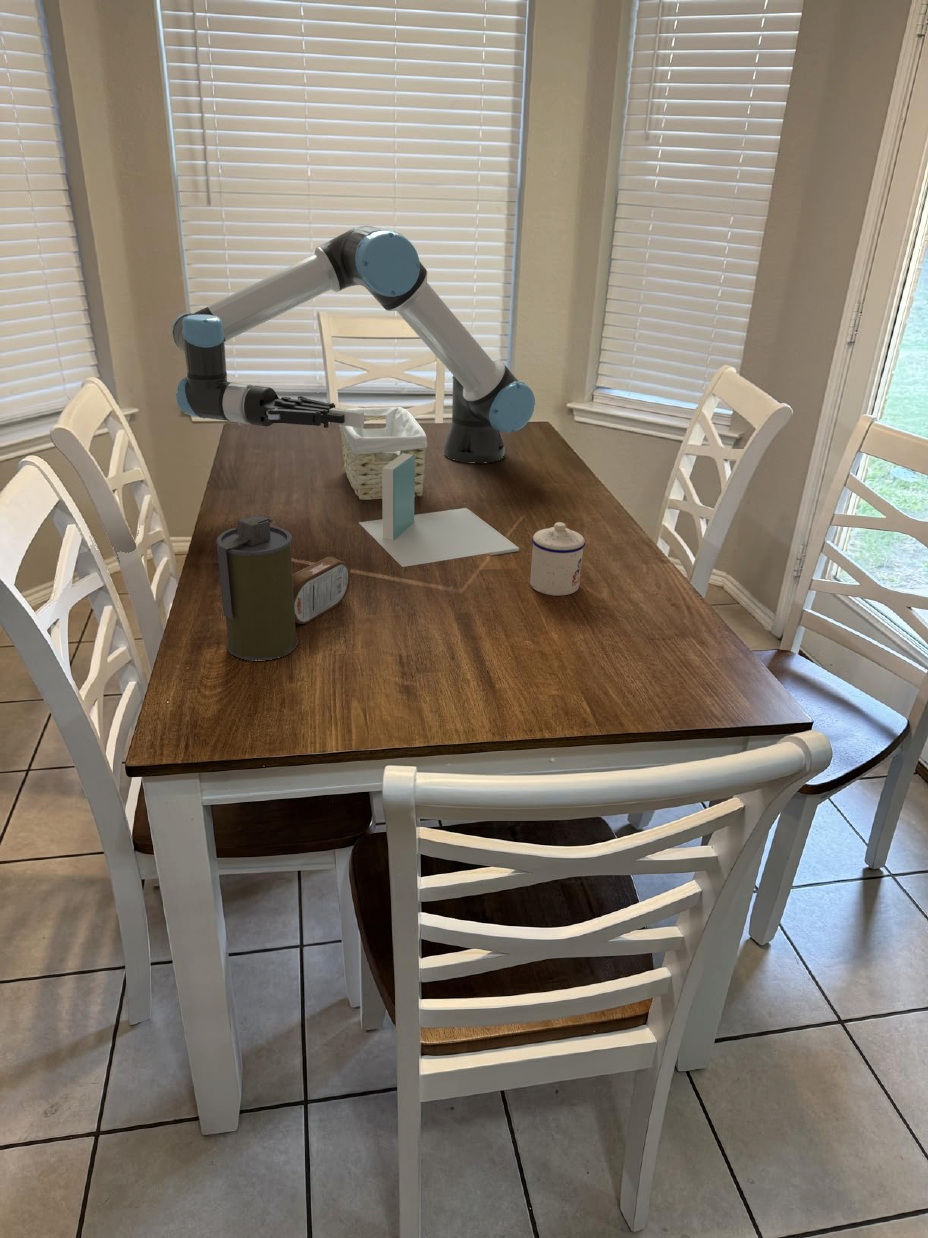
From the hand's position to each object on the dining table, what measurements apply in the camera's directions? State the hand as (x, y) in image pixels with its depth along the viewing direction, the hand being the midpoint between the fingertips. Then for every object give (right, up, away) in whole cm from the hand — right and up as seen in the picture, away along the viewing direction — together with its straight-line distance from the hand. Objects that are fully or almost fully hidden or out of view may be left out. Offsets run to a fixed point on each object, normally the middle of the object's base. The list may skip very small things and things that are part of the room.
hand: (362, 419), depth 166 cm
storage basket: (0, -7, +33) cm, 34 cm away
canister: (-11, -42, -33) cm, 54 cm away
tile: (+6, -20, +8) cm, 22 cm away
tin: (-4, -37, -23) cm, 44 cm away
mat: (+14, -22, +7) cm, 26 cm away
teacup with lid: (+35, -31, -9) cm, 48 cm away
